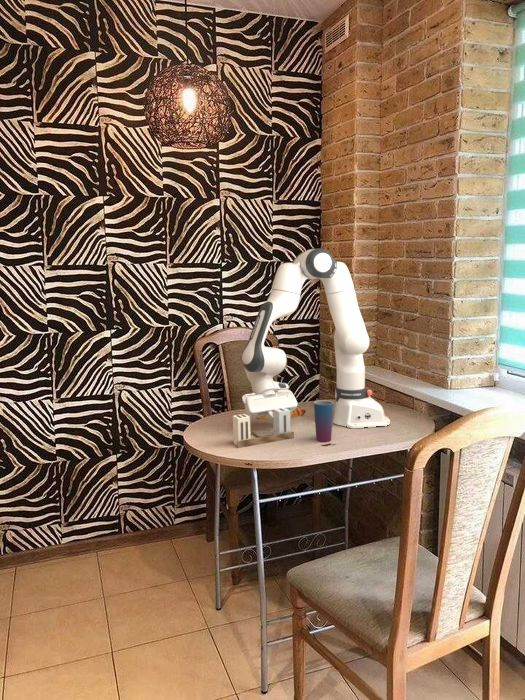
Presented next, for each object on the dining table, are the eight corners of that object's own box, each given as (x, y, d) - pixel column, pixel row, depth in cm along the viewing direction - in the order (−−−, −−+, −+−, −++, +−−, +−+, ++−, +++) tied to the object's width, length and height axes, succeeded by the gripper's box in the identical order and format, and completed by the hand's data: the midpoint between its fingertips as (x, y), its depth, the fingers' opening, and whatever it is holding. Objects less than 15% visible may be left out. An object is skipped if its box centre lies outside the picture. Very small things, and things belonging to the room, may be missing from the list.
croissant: (259, 432, 224) (262, 417, 219) (252, 415, 231) (254, 400, 226) (308, 425, 231) (311, 410, 226) (299, 408, 238) (302, 394, 234)
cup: (333, 440, 200) (333, 400, 198) (333, 447, 193) (333, 405, 191) (314, 440, 201) (313, 400, 198) (314, 446, 194) (313, 404, 192)
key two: (245, 441, 197) (244, 413, 196) (250, 445, 193) (250, 416, 191) (233, 443, 195) (232, 415, 194) (239, 447, 191) (238, 418, 189)
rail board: (278, 432, 211) (278, 423, 210) (294, 441, 200) (293, 432, 199) (224, 442, 201) (224, 432, 200) (237, 452, 190) (237, 441, 190)
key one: (284, 434, 204) (284, 407, 203) (290, 437, 200) (290, 410, 199) (273, 436, 202) (273, 408, 201) (279, 439, 198) (279, 411, 197)
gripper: (242, 390, 204) (255, 422, 196) (291, 383, 213) (305, 414, 205) (238, 399, 208) (249, 431, 201) (286, 392, 217) (299, 423, 210)
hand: (278, 422), depth 203 cm, fingers closed, pressing on key one
